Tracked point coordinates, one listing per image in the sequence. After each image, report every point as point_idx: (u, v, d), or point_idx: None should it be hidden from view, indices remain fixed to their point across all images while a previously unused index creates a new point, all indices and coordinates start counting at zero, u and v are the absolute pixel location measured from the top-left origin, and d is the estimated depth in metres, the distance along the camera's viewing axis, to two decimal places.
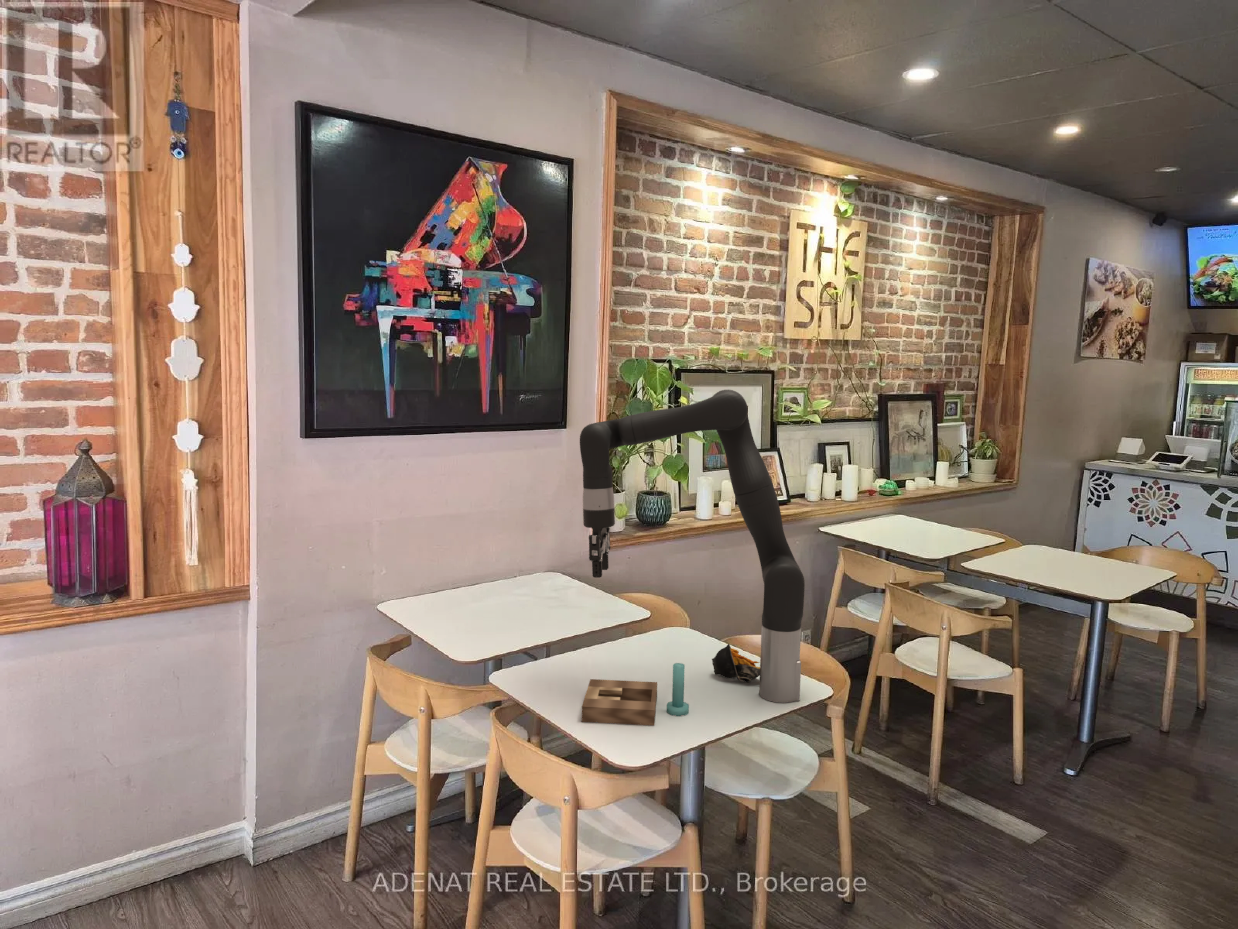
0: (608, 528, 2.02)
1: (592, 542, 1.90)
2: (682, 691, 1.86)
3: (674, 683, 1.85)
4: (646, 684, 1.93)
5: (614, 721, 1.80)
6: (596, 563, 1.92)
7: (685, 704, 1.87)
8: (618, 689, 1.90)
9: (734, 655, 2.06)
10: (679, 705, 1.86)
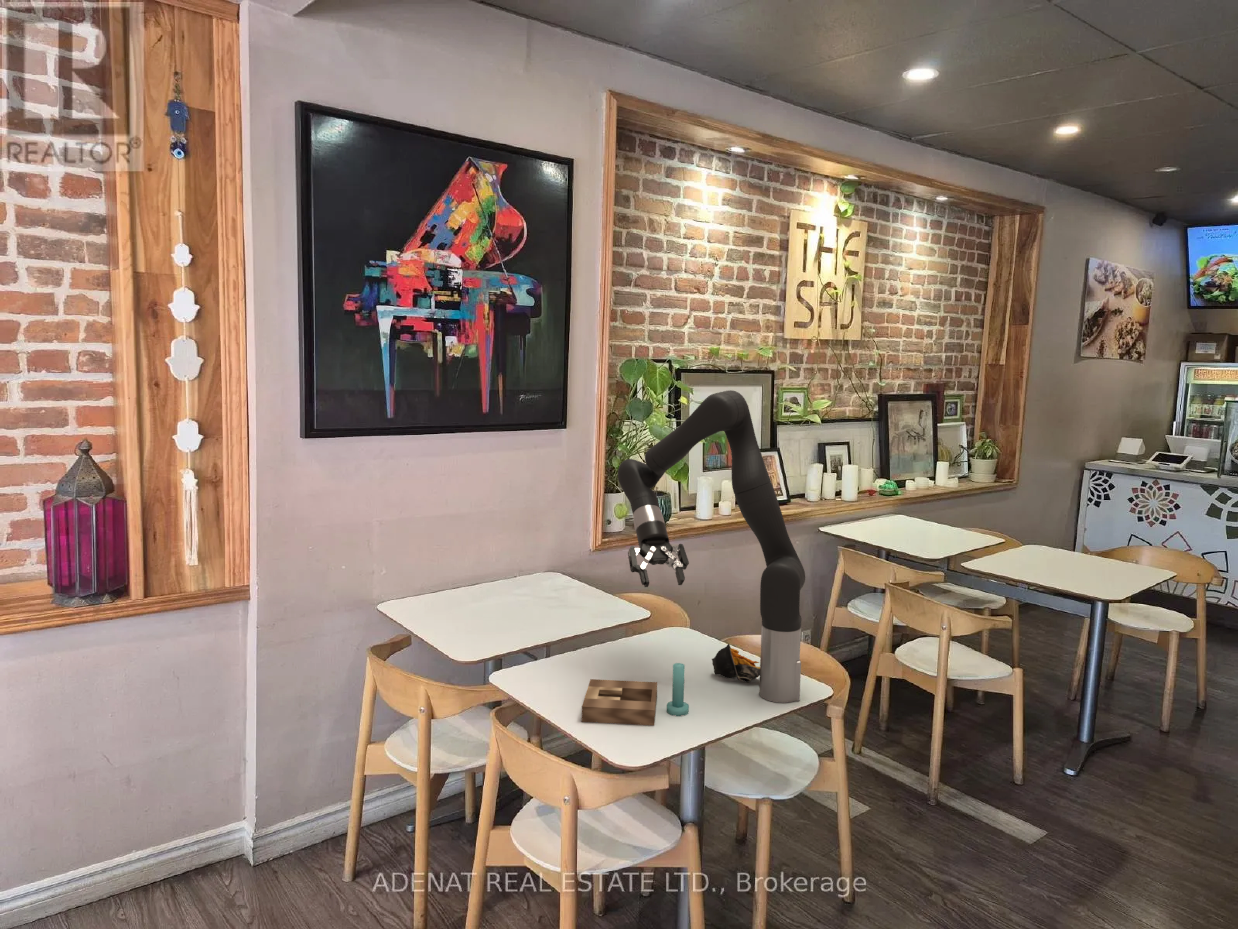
0: (678, 545, 2.01)
1: (629, 555, 1.98)
2: (682, 691, 1.86)
3: (674, 683, 1.85)
4: (646, 684, 1.93)
5: (614, 721, 1.80)
6: (640, 572, 1.95)
7: (685, 704, 1.87)
8: (618, 689, 1.90)
9: (734, 655, 2.06)
10: (679, 705, 1.86)
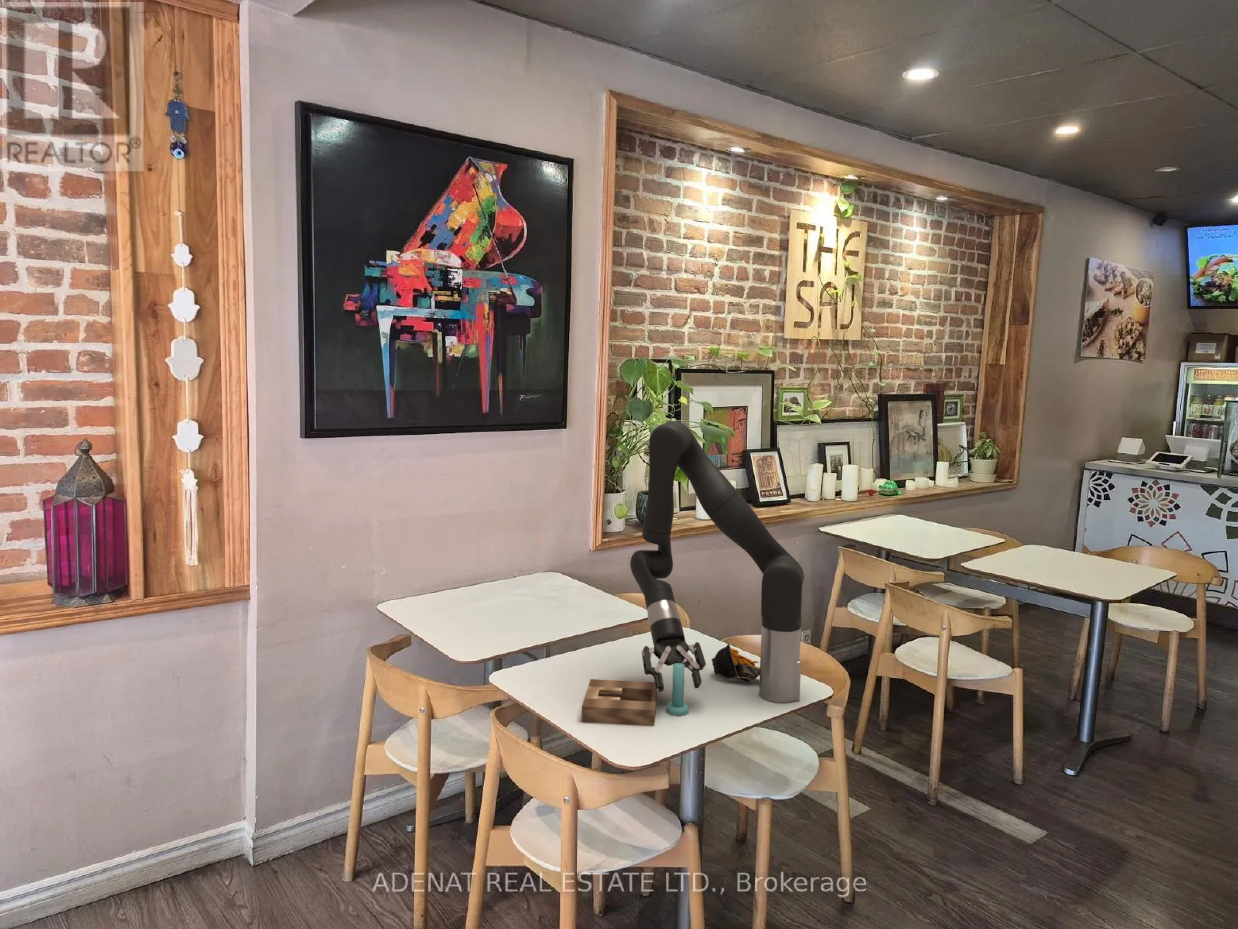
0: (694, 644, 1.92)
1: (643, 655, 1.89)
2: (682, 691, 1.86)
3: (674, 683, 1.85)
4: (646, 684, 1.93)
5: (614, 721, 1.80)
6: (654, 675, 1.86)
7: (685, 704, 1.87)
8: (618, 689, 1.90)
9: (734, 655, 2.06)
10: (679, 705, 1.86)
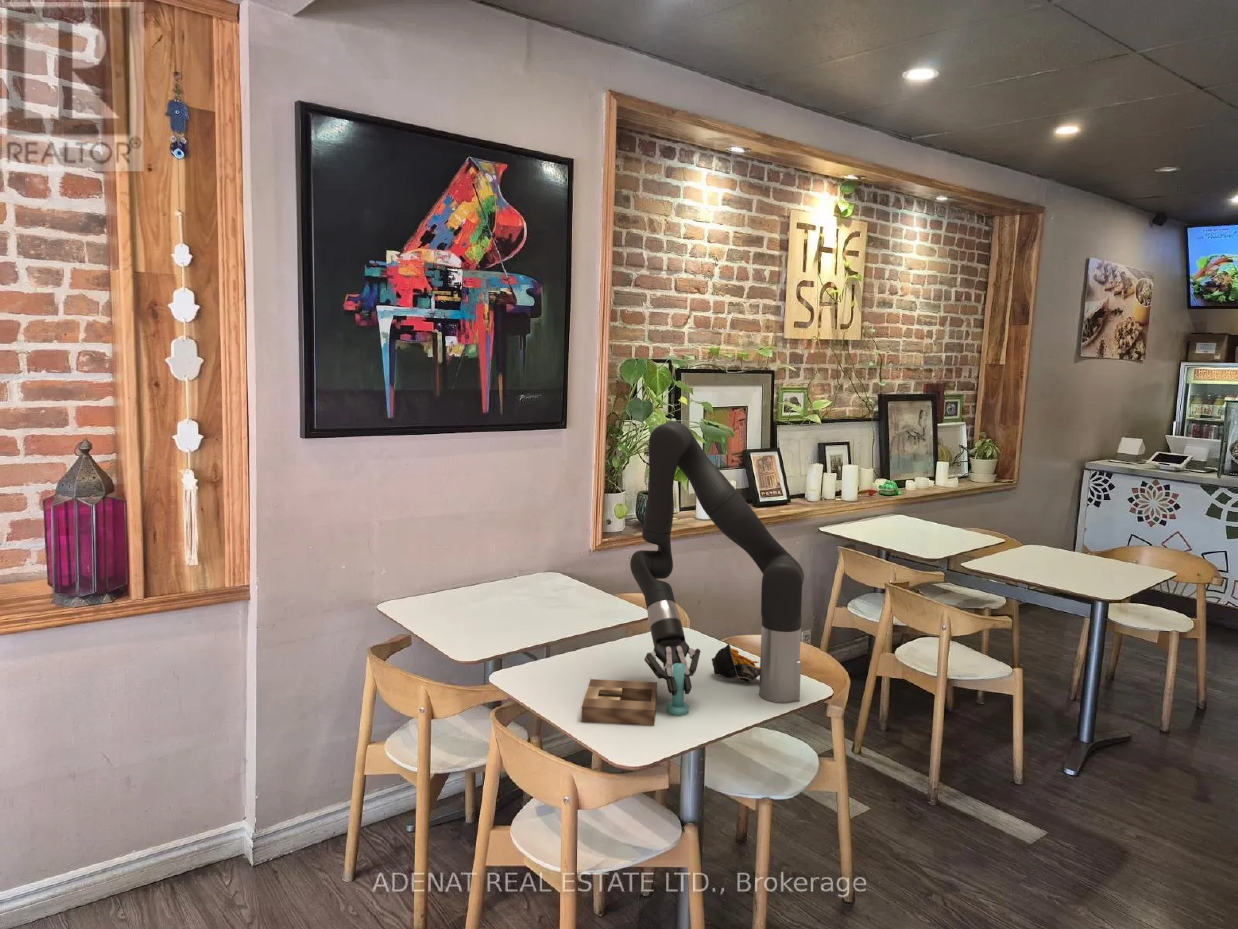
0: None
1: (648, 663, 1.88)
2: (682, 691, 1.86)
3: None
4: (646, 684, 1.93)
5: (614, 721, 1.80)
6: (667, 679, 1.86)
7: (685, 704, 1.87)
8: (618, 689, 1.90)
9: (734, 655, 2.06)
10: (679, 705, 1.86)
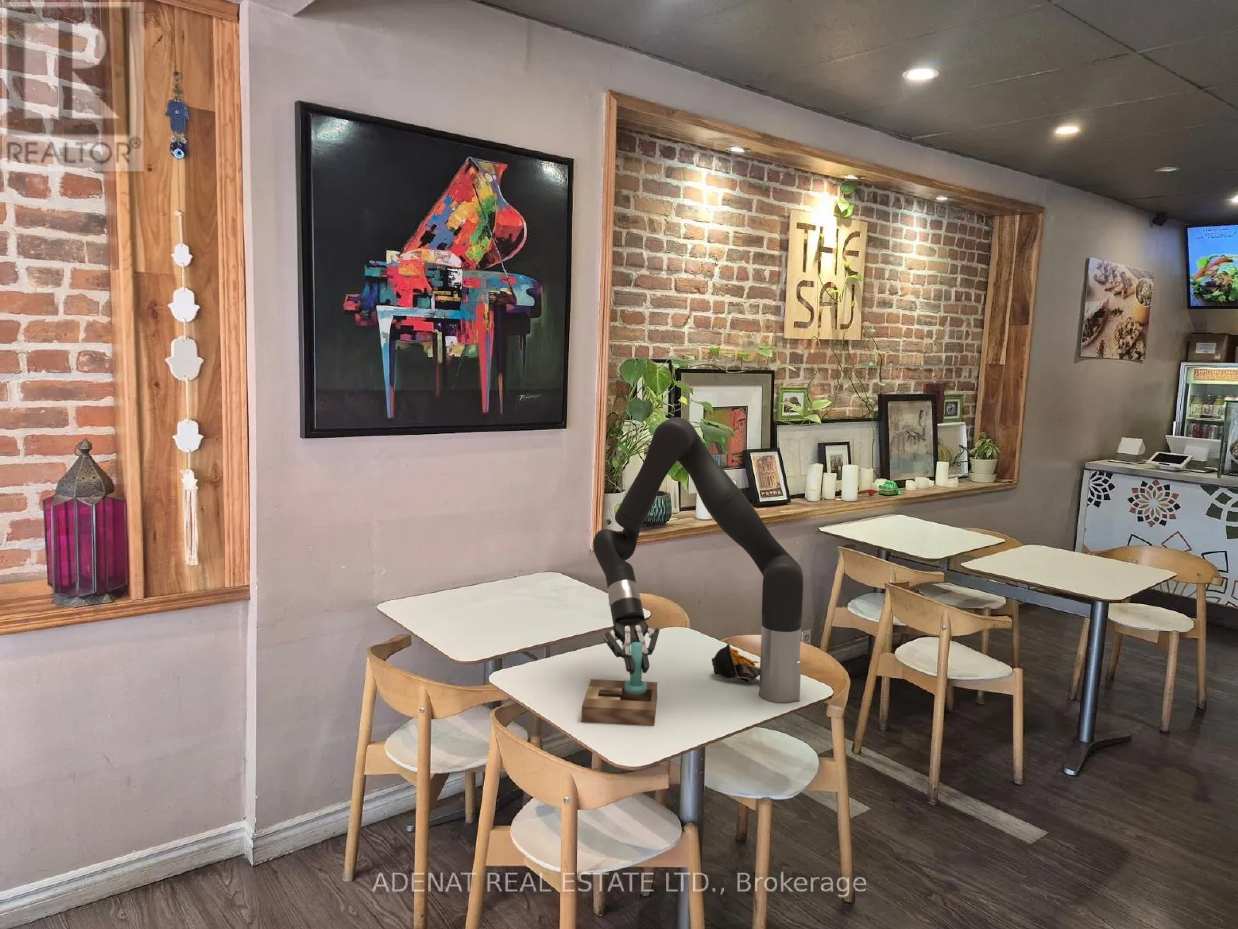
0: None
1: (607, 641, 1.88)
2: (640, 670, 1.86)
3: None
4: None
5: (614, 721, 1.80)
6: (625, 658, 1.86)
7: (643, 683, 1.88)
8: (618, 689, 1.90)
9: (734, 655, 2.06)
10: (637, 684, 1.86)
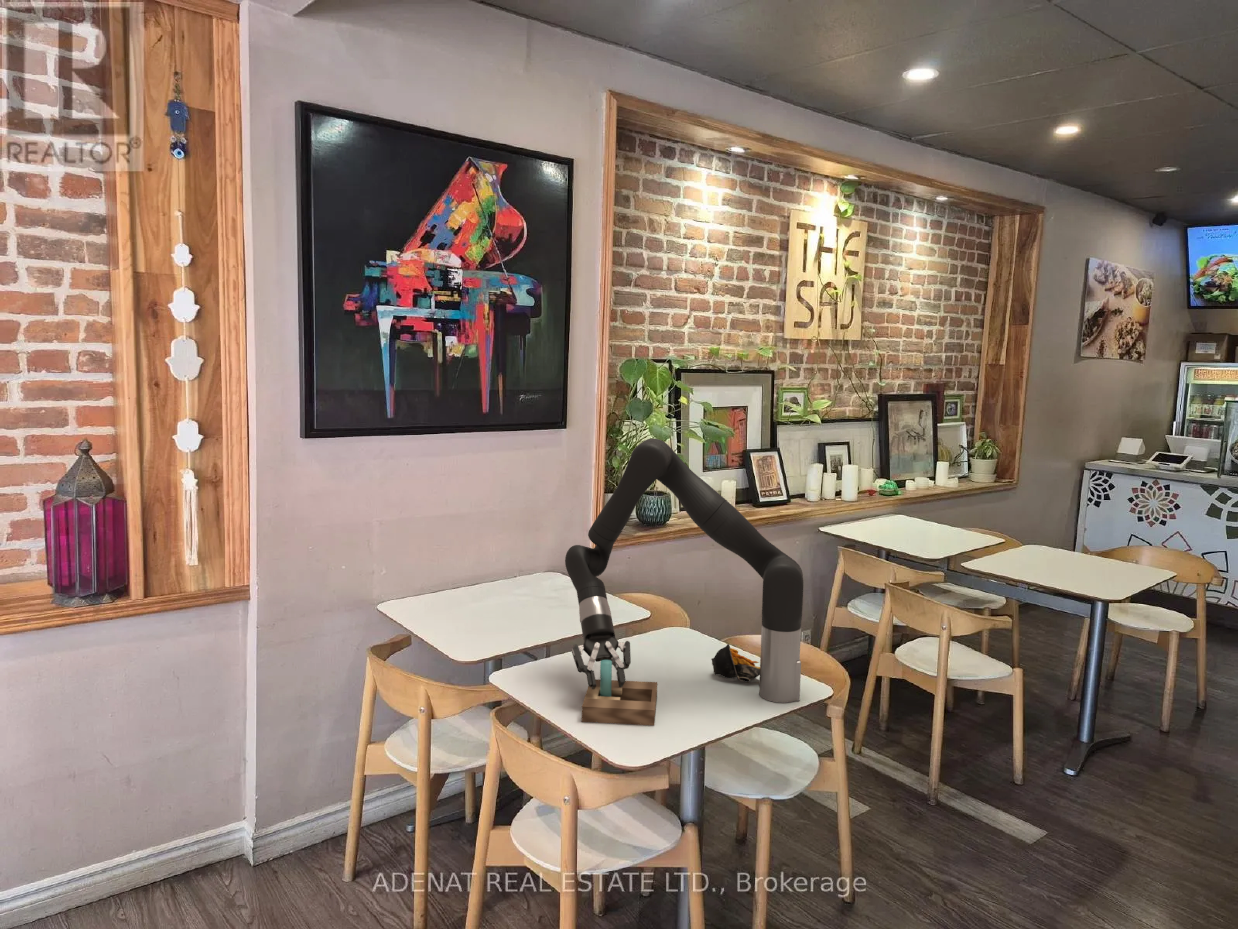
0: (625, 642, 1.92)
1: (573, 654, 1.90)
2: (609, 687, 1.87)
3: (601, 679, 1.87)
4: (646, 684, 1.93)
5: (614, 721, 1.80)
6: (587, 673, 1.87)
7: None
8: (618, 689, 1.90)
9: (734, 655, 2.06)
10: None
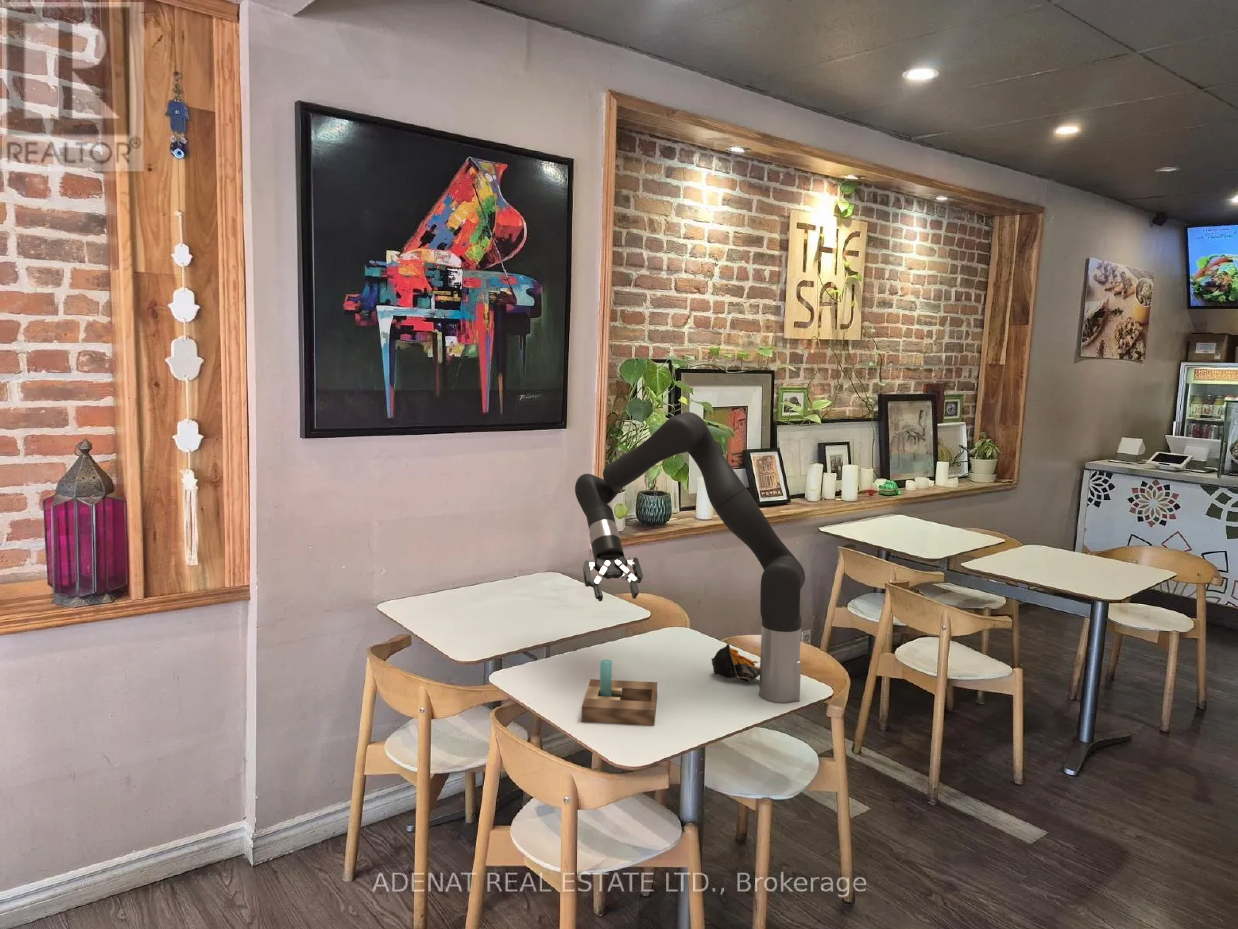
0: (633, 559, 2.04)
1: (583, 569, 2.01)
2: (609, 687, 1.87)
3: (601, 679, 1.87)
4: (646, 684, 1.93)
5: (614, 721, 1.80)
6: (594, 587, 1.98)
7: None
8: (618, 689, 1.90)
9: (733, 655, 2.06)
10: None
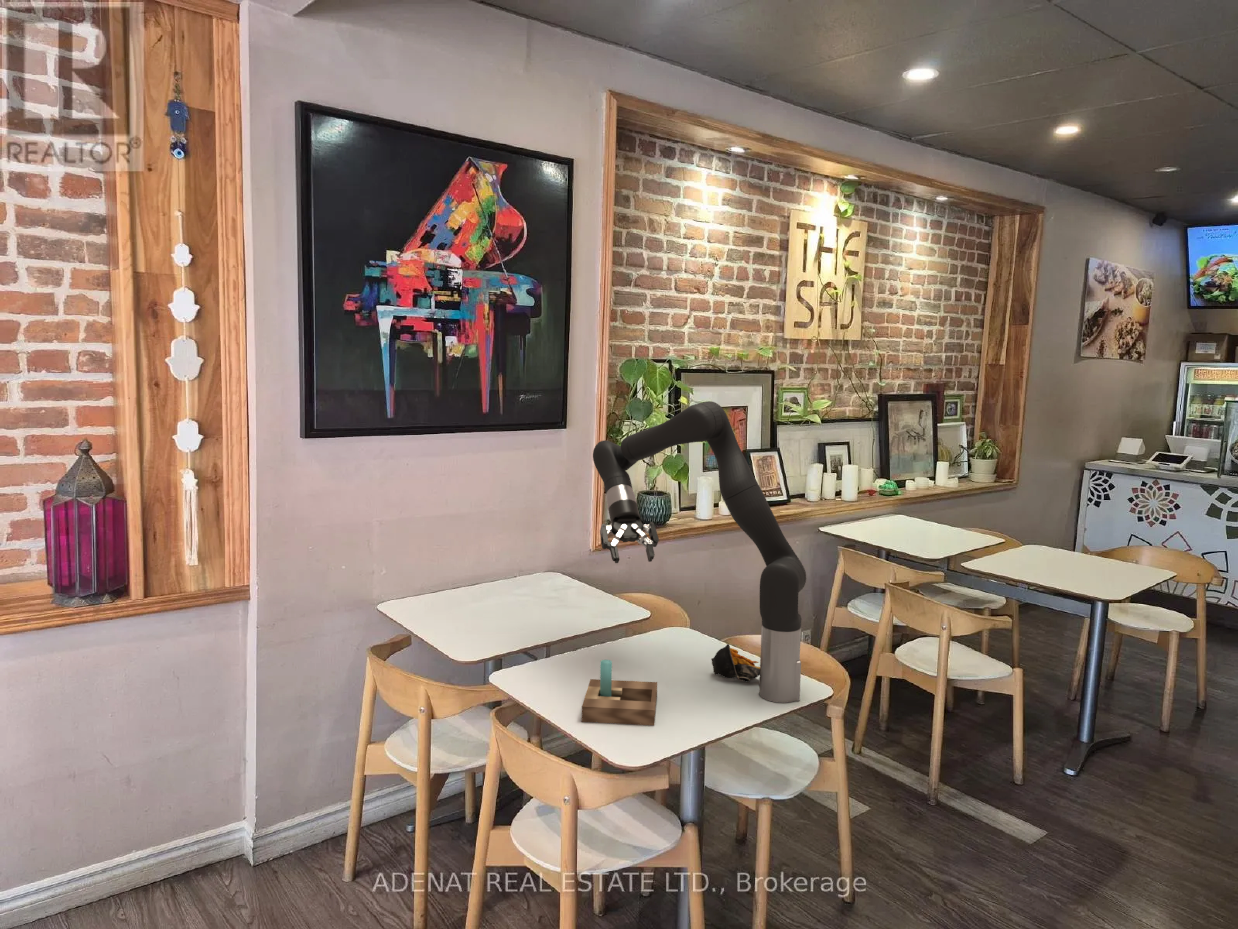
0: (649, 523, 2.07)
1: (601, 532, 2.05)
2: (609, 687, 1.87)
3: (601, 679, 1.87)
4: (646, 684, 1.93)
5: (614, 721, 1.80)
6: (610, 549, 2.01)
7: None
8: (618, 689, 1.90)
9: (733, 655, 2.06)
10: None
